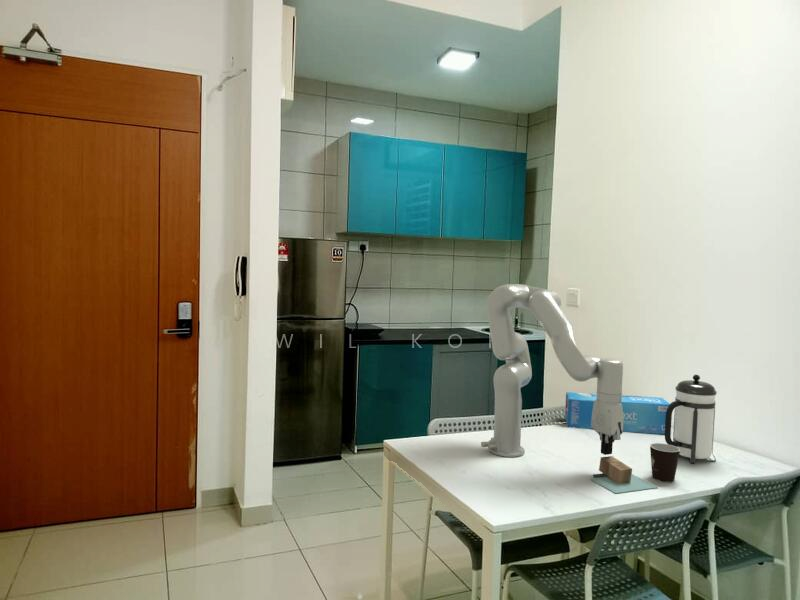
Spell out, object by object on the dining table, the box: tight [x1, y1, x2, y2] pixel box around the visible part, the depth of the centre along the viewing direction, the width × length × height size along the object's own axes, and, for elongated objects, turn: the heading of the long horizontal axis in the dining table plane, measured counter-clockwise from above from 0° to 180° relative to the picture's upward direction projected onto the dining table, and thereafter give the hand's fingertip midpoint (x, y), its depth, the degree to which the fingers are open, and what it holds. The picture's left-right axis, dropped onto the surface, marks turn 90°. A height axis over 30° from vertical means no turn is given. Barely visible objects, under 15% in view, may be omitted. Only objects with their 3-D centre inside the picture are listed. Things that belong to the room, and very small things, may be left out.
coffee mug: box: [649, 442, 680, 483], centre depth 175 cm, size 12×9×10 cm
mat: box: [589, 474, 659, 495], centre depth 169 cm, size 16×12×1 cm
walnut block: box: [598, 455, 633, 484], centre depth 172 cm, size 4×4×9 cm
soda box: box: [564, 391, 671, 435], centre depth 232 cm, size 40×14×13 cm, turn 79°
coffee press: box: [664, 374, 718, 465], centre depth 193 cm, size 17×16×30 cm
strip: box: [592, 472, 606, 478], centre depth 175 cm, size 12×1×1 cm, turn 110°
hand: (606, 453), depth 176 cm, fingers closed
